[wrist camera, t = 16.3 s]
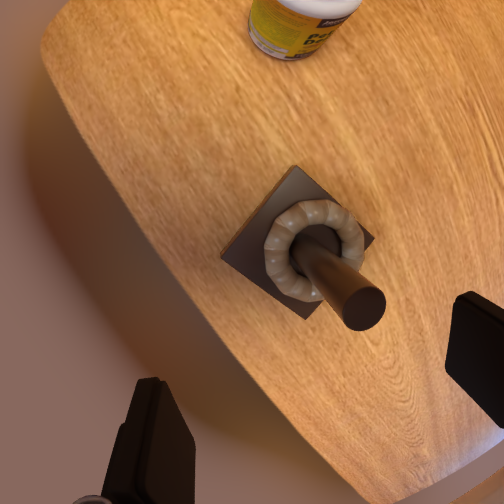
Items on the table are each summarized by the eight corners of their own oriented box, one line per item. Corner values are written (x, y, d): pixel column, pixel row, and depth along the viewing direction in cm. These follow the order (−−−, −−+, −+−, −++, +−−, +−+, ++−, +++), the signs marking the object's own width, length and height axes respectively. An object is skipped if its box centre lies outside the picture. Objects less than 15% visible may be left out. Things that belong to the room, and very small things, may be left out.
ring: (242, 239, 21) (244, 245, 19) (326, 178, 20) (334, 179, 19) (298, 313, 23) (304, 323, 21) (373, 257, 22) (383, 264, 21)
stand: (219, 253, 22) (222, 333, 11) (292, 165, 21) (364, 163, 10) (301, 313, 24) (355, 409, 13) (368, 235, 23) (464, 285, 12)
